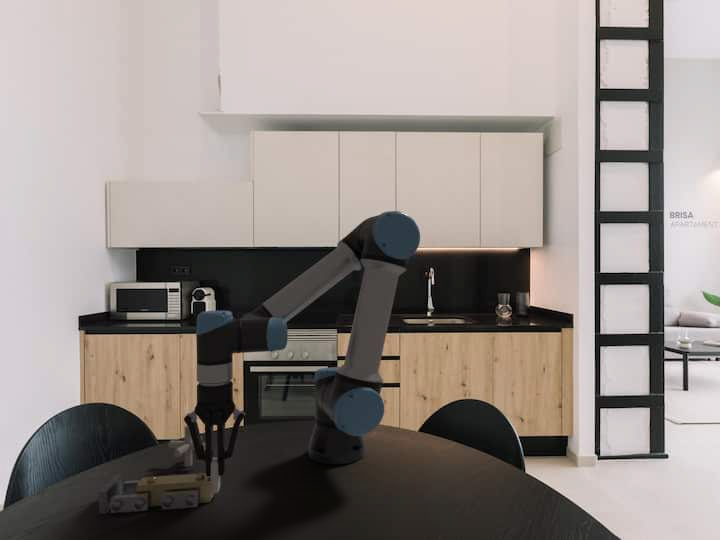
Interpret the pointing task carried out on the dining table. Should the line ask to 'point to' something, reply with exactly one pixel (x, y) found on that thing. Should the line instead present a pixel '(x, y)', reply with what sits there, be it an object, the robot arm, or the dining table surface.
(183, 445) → the pipe connector
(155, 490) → the link
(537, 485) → the dining table surface
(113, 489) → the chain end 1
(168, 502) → the chain end
